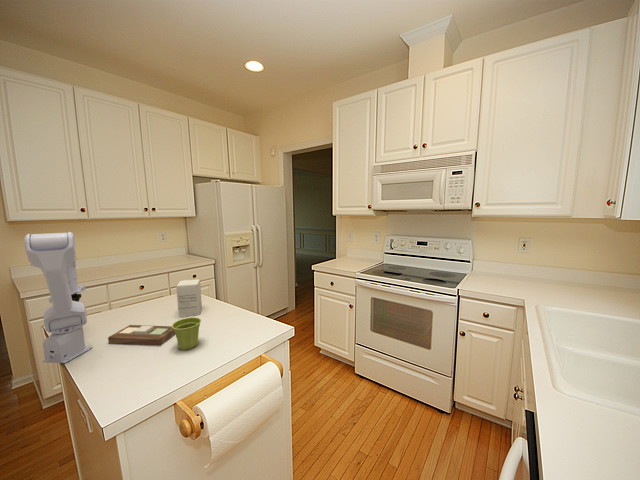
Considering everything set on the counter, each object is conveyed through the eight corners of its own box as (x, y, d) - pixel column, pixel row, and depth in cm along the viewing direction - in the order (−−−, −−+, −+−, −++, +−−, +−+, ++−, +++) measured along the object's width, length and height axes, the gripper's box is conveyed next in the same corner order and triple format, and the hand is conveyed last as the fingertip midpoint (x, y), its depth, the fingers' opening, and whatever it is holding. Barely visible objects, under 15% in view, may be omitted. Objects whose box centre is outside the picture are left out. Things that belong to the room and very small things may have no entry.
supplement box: (182, 310, 125) (179, 280, 123) (202, 308, 128) (200, 278, 126) (178, 317, 116) (175, 285, 114) (199, 315, 119) (197, 284, 117)
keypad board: (160, 345, 93) (159, 339, 92) (108, 343, 94) (107, 337, 94) (177, 332, 103) (177, 326, 102) (130, 330, 104) (130, 324, 104)
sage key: (160, 340, 96) (160, 334, 95) (149, 340, 96) (149, 333, 96) (168, 334, 100) (168, 328, 100) (157, 334, 100) (157, 328, 100)
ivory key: (145, 337, 96) (144, 331, 96) (134, 337, 96) (133, 331, 96) (153, 332, 100) (153, 326, 100) (143, 331, 101) (142, 325, 100)
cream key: (130, 339, 97) (129, 333, 96) (119, 339, 97) (118, 332, 97) (139, 333, 101) (139, 327, 101) (129, 333, 101) (128, 327, 101)
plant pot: (170, 354, 87) (168, 330, 86) (177, 340, 96) (175, 318, 95) (200, 350, 90) (198, 327, 89) (204, 337, 99) (203, 315, 98)
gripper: (63, 284, 89) (68, 322, 91) (92, 274, 104) (96, 306, 105) (39, 286, 88) (45, 323, 90) (71, 275, 102) (76, 307, 104)
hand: (71, 314), depth 97 cm, fingers closed
